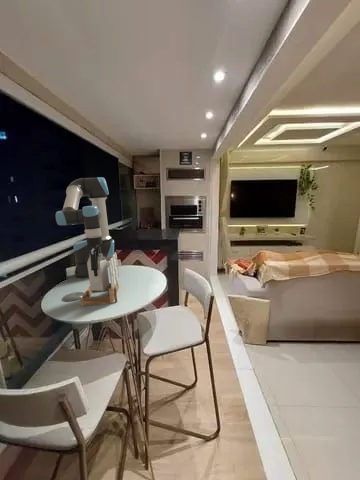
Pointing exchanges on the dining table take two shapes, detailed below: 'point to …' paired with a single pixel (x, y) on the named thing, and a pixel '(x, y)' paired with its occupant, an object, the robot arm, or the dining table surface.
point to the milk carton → (102, 273)
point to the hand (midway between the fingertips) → (99, 278)
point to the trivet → (73, 296)
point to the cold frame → (112, 288)
